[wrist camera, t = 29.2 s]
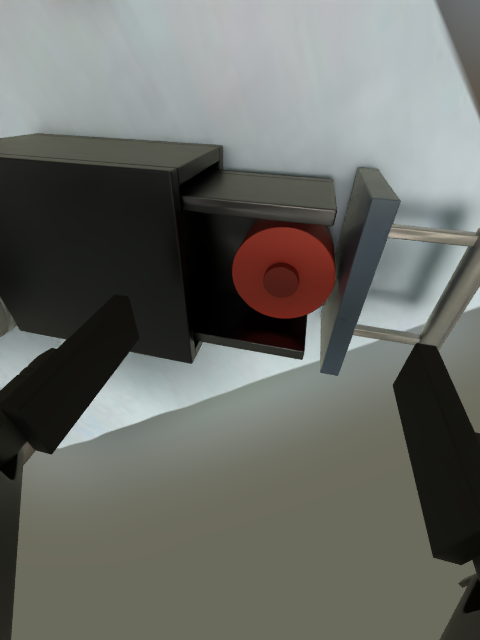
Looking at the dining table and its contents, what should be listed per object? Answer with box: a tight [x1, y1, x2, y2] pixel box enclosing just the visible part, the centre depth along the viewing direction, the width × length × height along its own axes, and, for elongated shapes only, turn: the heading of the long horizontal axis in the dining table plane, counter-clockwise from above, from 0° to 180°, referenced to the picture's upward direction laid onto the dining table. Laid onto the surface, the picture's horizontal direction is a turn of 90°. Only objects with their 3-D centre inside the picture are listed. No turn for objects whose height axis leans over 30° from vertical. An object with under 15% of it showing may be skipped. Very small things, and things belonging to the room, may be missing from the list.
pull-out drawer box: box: [179, 168, 480, 376], centre depth 19 cm, size 20×11×7 cm, turn 88°
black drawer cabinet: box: [0, 133, 223, 364], centre depth 21 cm, size 15×13×9 cm
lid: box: [232, 219, 336, 319], centre depth 19 cm, size 7×7×4 cm
